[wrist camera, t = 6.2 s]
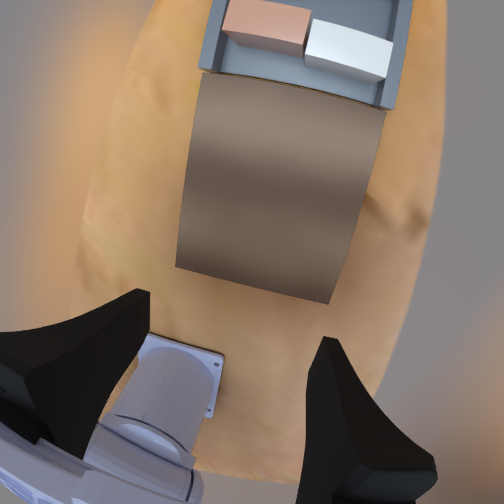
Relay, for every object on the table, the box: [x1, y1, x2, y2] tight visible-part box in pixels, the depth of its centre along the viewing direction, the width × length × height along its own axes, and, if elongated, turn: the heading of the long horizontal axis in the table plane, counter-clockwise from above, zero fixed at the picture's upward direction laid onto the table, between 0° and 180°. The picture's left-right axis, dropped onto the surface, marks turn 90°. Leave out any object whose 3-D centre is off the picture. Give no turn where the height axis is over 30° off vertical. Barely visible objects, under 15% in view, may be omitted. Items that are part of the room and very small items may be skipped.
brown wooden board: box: [175, 73, 386, 304], centre depth 19 cm, size 12×10×3 cm
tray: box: [198, 0, 413, 111], centre depth 14 cm, size 8×11×4 cm
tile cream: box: [305, 19, 393, 85], centre depth 14 cm, size 4×4×2 cm
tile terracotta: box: [222, 0, 312, 59], centre depth 14 cm, size 4×4×2 cm
